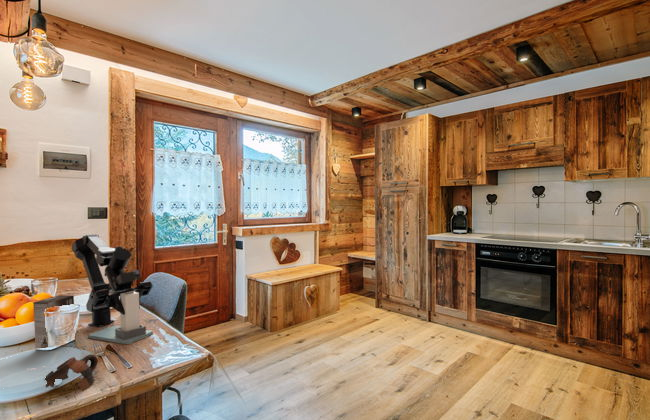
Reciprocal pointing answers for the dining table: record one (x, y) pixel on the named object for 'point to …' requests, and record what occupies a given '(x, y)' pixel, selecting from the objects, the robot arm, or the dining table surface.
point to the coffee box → (39, 316)
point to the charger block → (130, 311)
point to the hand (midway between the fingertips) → (131, 312)
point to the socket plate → (113, 338)
